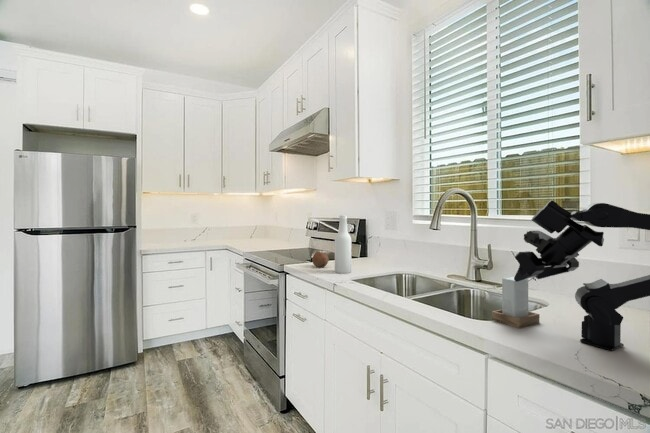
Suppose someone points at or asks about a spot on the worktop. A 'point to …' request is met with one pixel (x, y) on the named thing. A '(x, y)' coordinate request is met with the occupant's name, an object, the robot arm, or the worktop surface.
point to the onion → (320, 259)
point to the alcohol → (343, 247)
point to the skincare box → (515, 297)
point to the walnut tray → (516, 319)
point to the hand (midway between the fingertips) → (526, 279)
